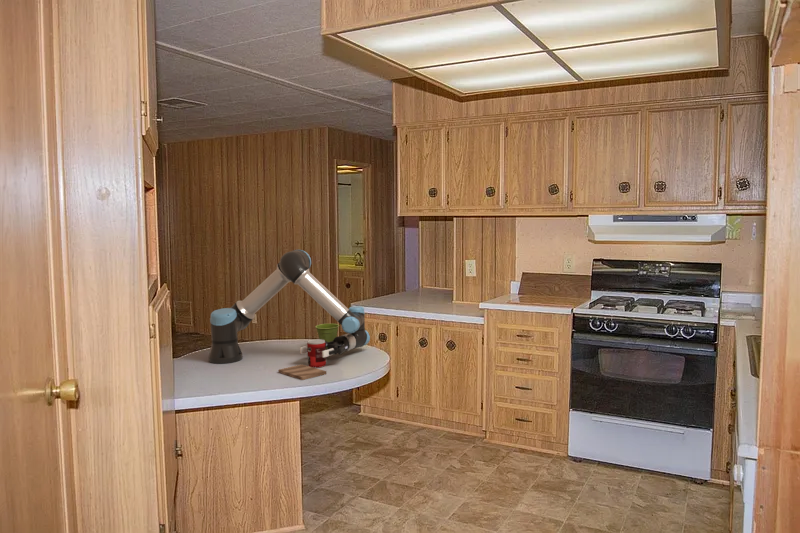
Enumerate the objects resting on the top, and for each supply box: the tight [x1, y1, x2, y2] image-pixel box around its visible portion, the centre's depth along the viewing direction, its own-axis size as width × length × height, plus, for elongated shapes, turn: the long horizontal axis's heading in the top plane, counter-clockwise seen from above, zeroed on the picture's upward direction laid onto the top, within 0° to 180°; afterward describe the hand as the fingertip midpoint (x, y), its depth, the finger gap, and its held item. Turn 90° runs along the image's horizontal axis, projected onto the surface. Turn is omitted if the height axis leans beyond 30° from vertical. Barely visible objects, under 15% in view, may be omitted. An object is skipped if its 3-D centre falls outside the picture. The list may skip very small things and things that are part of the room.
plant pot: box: [315, 323, 340, 348], centre depth 302 cm, size 12×12×11 cm
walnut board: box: [278, 364, 327, 381], centre depth 256 cm, size 18×12×1 cm, turn 43°
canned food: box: [306, 338, 327, 368], centre depth 268 cm, size 8×8×11 cm
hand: (311, 352), depth 266 cm, fingers open, 13 cm apart
